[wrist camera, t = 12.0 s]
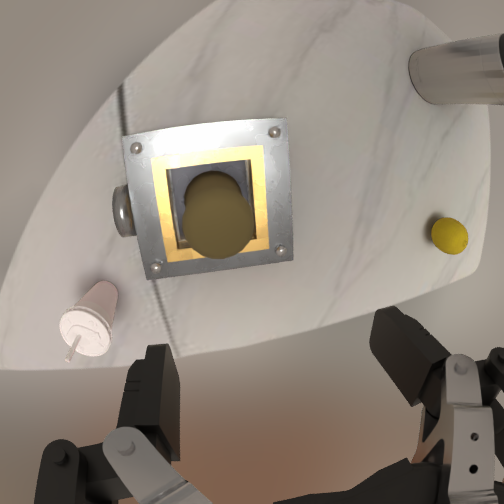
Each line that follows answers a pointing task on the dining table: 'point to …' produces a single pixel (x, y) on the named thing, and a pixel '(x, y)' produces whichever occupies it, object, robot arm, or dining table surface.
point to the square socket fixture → (181, 174)
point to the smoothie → (90, 321)
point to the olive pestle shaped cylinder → (216, 216)
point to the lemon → (449, 236)
